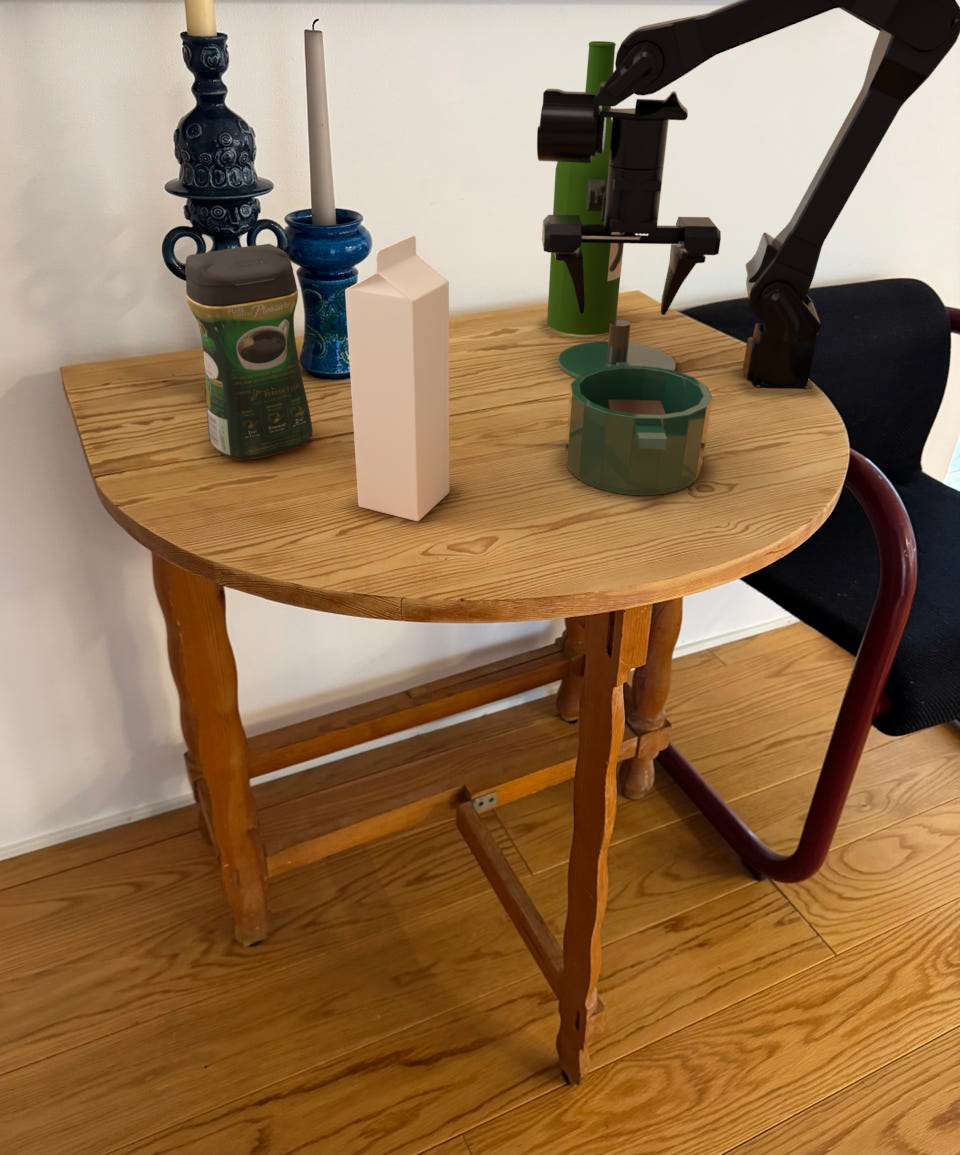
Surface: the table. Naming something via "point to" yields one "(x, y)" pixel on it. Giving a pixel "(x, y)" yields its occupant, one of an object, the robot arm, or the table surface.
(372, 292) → the milk
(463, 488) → the table surface
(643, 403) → the block
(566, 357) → the lid
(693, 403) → the tin
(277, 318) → the coffee jar
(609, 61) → the wine bottle
